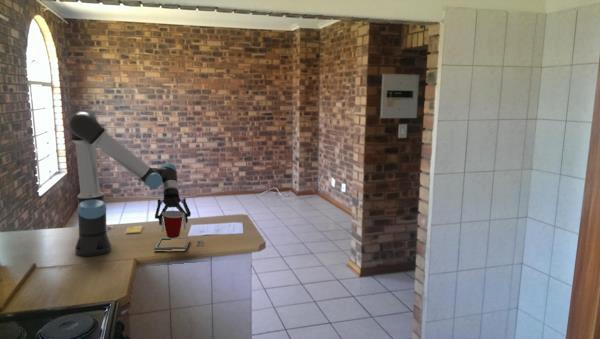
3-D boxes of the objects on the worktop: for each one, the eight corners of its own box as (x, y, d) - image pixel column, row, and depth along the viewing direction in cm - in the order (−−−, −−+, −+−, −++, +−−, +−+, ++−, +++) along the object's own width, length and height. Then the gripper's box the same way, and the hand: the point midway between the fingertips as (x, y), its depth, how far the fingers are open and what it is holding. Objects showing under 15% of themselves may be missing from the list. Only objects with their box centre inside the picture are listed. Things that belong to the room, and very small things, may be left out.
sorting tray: (154, 251, 201) (154, 247, 200) (160, 241, 215) (160, 237, 215) (185, 251, 202) (185, 247, 202) (189, 241, 217) (189, 238, 216)
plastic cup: (181, 240, 203) (181, 216, 201) (159, 239, 203) (158, 215, 201) (187, 233, 213) (187, 210, 211) (166, 232, 214) (166, 209, 211)
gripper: (192, 193, 223) (196, 231, 212) (147, 195, 215) (149, 235, 203) (193, 186, 218) (198, 224, 206) (148, 187, 209) (150, 227, 197)
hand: (174, 229), depth 205 cm, fingers closed on plastic cup, 10 cm apart
